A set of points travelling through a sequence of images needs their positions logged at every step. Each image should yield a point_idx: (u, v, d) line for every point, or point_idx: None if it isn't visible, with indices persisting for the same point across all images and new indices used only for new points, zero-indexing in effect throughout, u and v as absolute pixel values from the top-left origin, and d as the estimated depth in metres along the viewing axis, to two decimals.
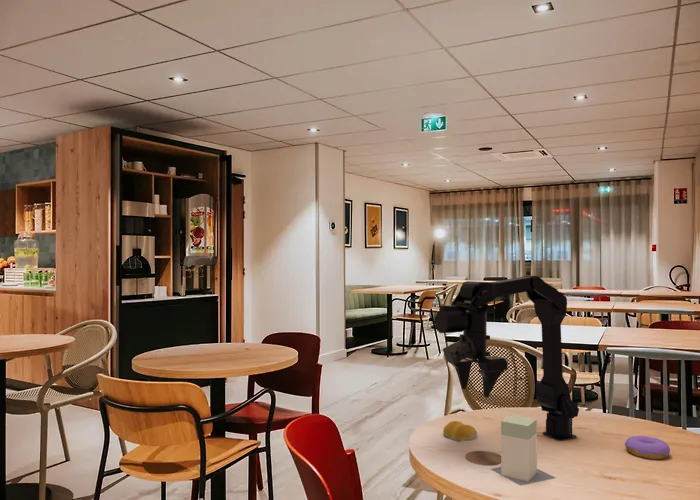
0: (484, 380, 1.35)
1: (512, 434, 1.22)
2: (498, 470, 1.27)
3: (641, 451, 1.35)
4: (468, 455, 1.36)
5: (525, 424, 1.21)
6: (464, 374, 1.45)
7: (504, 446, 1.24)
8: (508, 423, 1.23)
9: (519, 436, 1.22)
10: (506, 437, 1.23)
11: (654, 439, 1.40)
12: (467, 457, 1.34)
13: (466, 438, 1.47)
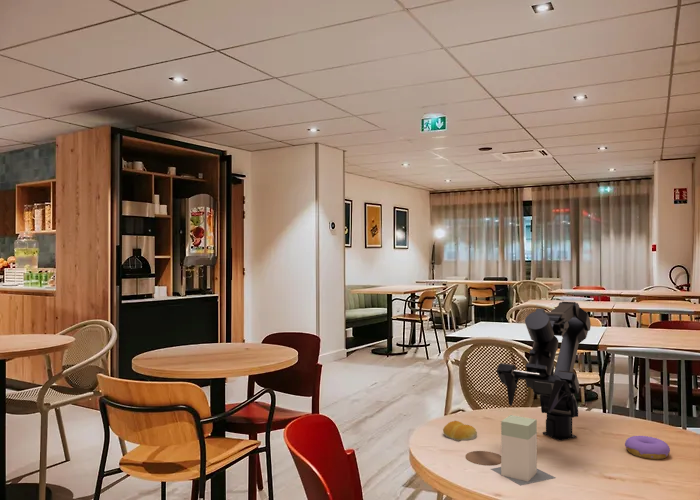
0: None
1: (512, 434, 1.22)
2: (498, 470, 1.27)
3: (641, 451, 1.35)
4: (468, 455, 1.36)
5: (525, 424, 1.21)
6: None
7: (504, 446, 1.24)
8: (508, 423, 1.23)
9: (519, 436, 1.22)
10: (506, 437, 1.23)
11: (654, 439, 1.40)
12: (467, 457, 1.34)
13: (466, 438, 1.47)
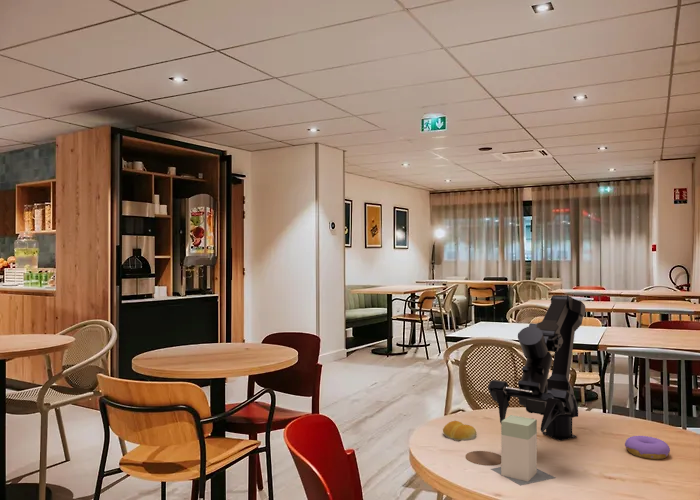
0: None
1: (512, 434, 1.22)
2: (498, 470, 1.27)
3: (641, 451, 1.35)
4: (468, 455, 1.36)
5: (525, 424, 1.21)
6: None
7: (504, 446, 1.24)
8: (508, 423, 1.23)
9: (519, 436, 1.22)
10: (506, 437, 1.23)
11: (654, 439, 1.40)
12: (467, 457, 1.34)
13: (466, 438, 1.47)
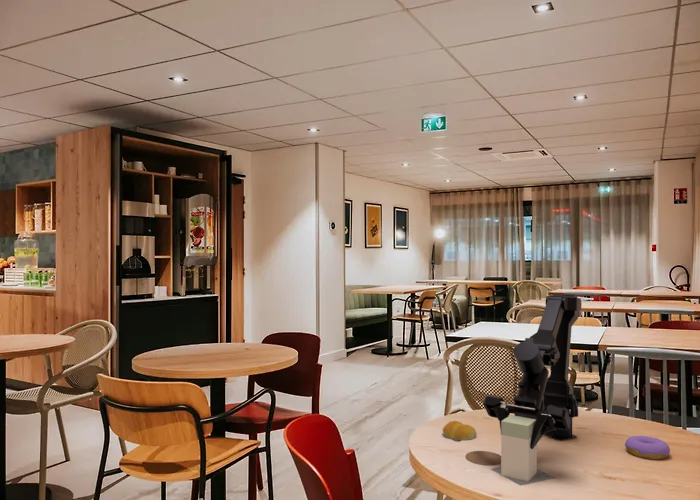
0: None
1: (512, 434, 1.22)
2: (498, 470, 1.27)
3: (641, 451, 1.35)
4: (468, 455, 1.36)
5: (525, 424, 1.21)
6: None
7: (504, 446, 1.24)
8: (508, 423, 1.23)
9: (519, 436, 1.22)
10: (506, 437, 1.23)
11: (654, 439, 1.40)
12: (467, 457, 1.34)
13: (465, 438, 1.47)
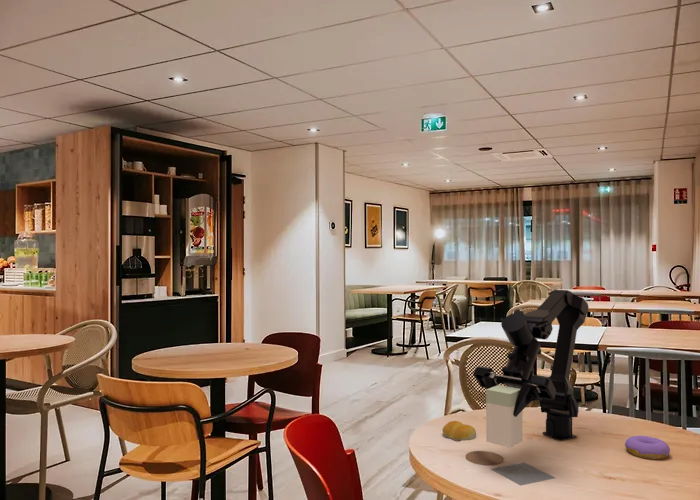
0: None
1: (496, 402, 1.26)
2: (498, 470, 1.27)
3: (641, 451, 1.35)
4: (468, 455, 1.36)
5: (508, 392, 1.25)
6: None
7: (489, 414, 1.27)
8: (492, 391, 1.27)
9: (502, 404, 1.25)
10: (491, 405, 1.27)
11: (654, 439, 1.40)
12: (467, 457, 1.34)
13: (465, 438, 1.47)
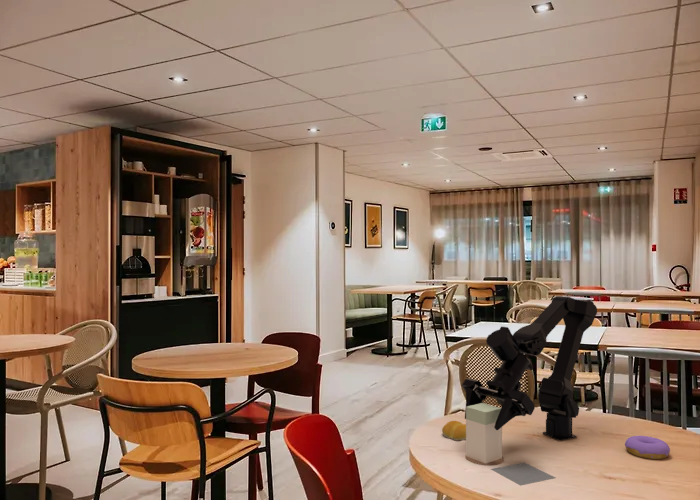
0: None
1: (474, 419, 1.33)
2: (498, 470, 1.27)
3: (641, 451, 1.35)
4: None
5: (484, 411, 1.31)
6: None
7: (468, 430, 1.34)
8: (471, 408, 1.34)
9: (479, 421, 1.32)
10: (469, 422, 1.34)
11: (654, 439, 1.40)
12: (467, 457, 1.34)
13: (465, 438, 1.47)
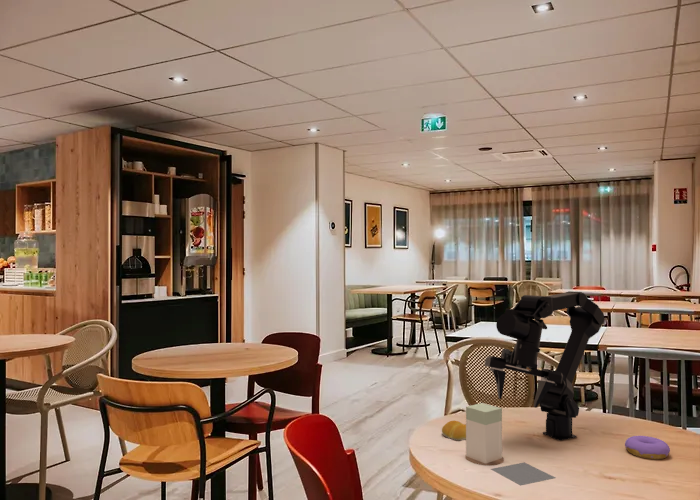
0: None
1: (474, 419, 1.33)
2: (498, 470, 1.27)
3: (641, 451, 1.35)
4: None
5: (484, 411, 1.31)
6: (538, 392, 1.42)
7: (468, 430, 1.34)
8: (471, 408, 1.34)
9: (479, 421, 1.32)
10: (469, 422, 1.34)
11: (654, 439, 1.40)
12: (467, 457, 1.34)
13: (465, 437, 1.48)
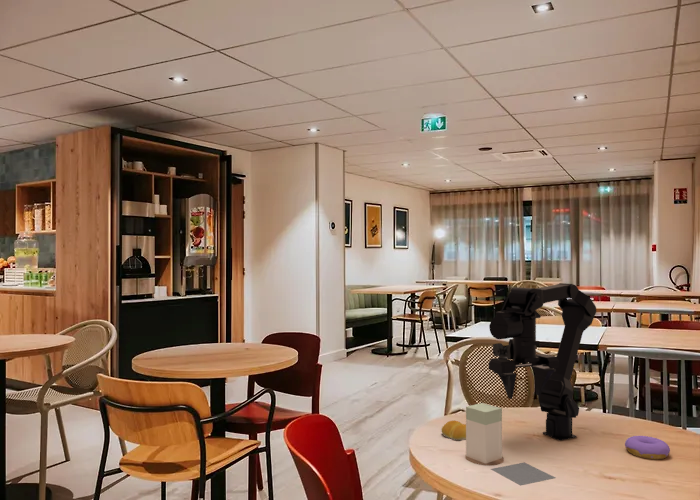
0: None
1: (474, 419, 1.33)
2: (498, 470, 1.27)
3: (641, 451, 1.35)
4: None
5: (484, 411, 1.31)
6: (538, 381, 1.45)
7: (468, 430, 1.34)
8: (471, 408, 1.34)
9: (479, 421, 1.32)
10: (469, 422, 1.34)
11: (654, 439, 1.40)
12: (467, 457, 1.34)
13: (464, 437, 1.48)
